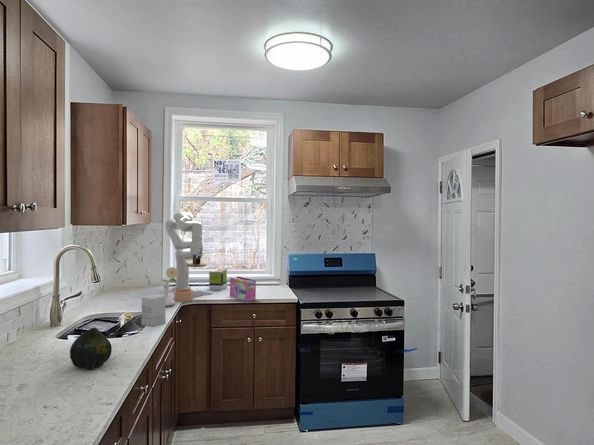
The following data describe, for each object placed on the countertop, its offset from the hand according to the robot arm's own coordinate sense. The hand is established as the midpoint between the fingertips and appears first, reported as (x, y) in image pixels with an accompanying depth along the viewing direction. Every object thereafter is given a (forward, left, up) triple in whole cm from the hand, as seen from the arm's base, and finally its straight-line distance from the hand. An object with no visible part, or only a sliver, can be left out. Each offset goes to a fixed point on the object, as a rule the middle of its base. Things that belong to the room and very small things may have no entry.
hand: (196, 263), depth 302 cm
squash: (+87, -112, -23) cm, 144 cm away
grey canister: (+50, -64, -23) cm, 84 cm away
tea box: (-7, +26, -23) cm, 35 cm away
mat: (0, 0, -23) cm, 23 cm away
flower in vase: (+18, -35, -23) cm, 45 cm away
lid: (0, 0, -2) cm, 2 cm away
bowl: (+9, -17, -23) cm, 30 cm away
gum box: (+33, +16, -23) cm, 43 cm away
